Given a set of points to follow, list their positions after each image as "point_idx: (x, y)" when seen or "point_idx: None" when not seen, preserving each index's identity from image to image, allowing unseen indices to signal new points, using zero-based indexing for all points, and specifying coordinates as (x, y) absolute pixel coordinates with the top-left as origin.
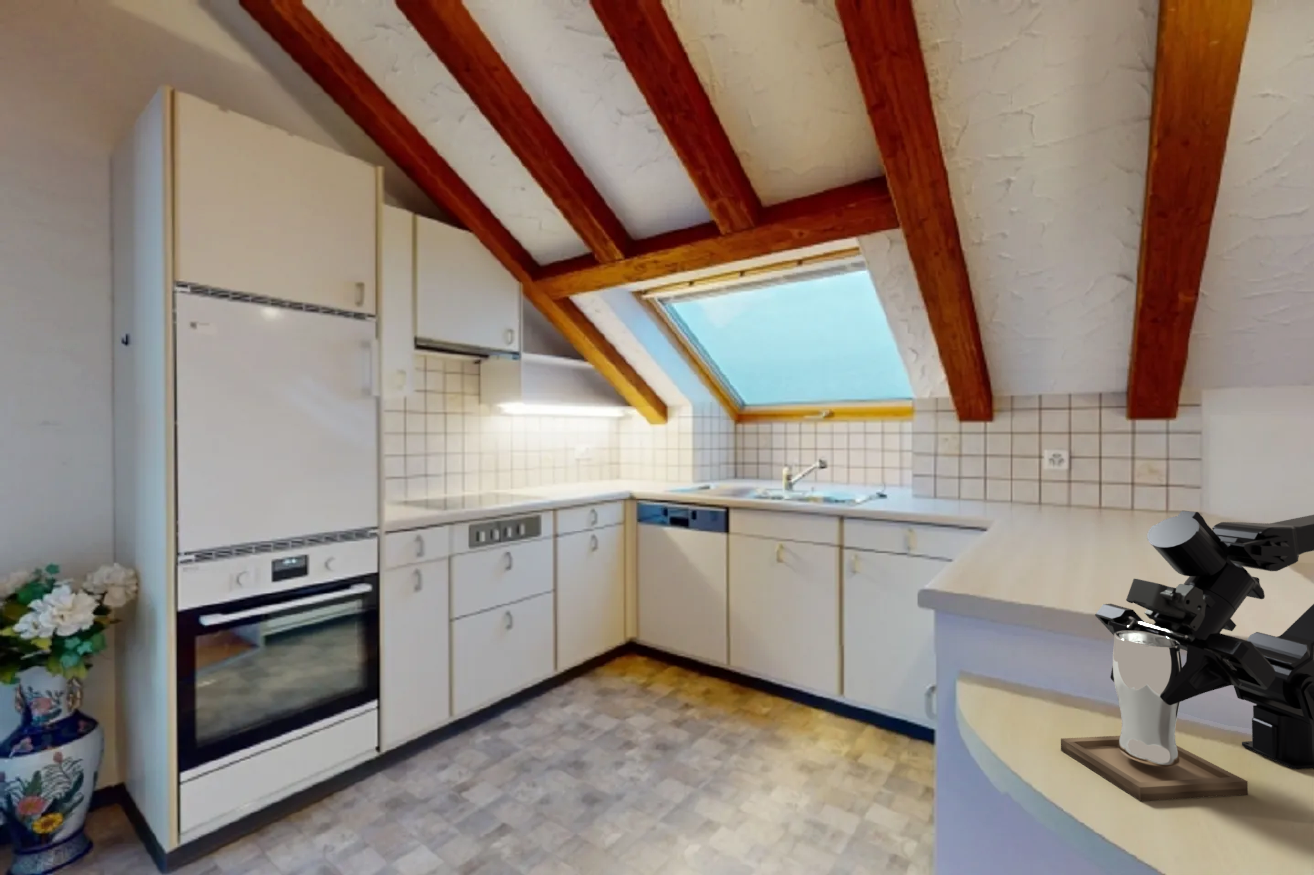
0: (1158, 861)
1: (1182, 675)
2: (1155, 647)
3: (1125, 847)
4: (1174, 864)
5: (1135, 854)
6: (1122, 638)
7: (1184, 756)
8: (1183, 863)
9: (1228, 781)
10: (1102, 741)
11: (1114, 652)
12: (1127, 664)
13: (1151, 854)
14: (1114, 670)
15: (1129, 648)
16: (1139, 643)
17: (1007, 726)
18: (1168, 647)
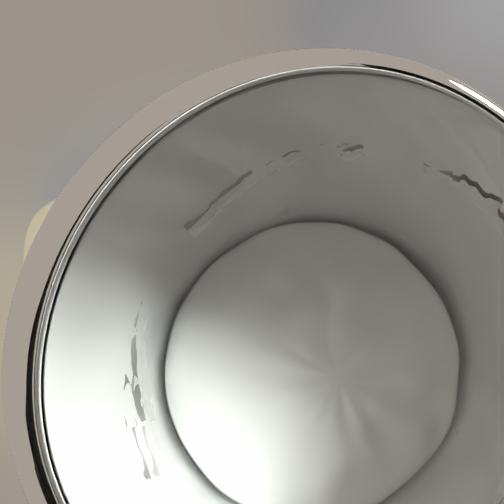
0: (31, 226)
1: None
2: (23, 277)
3: (52, 203)
4: (26, 241)
5: (42, 208)
6: (347, 54)
7: None
8: (26, 252)
9: None
10: None
11: (382, 166)
12: (247, 200)
13: (40, 225)
14: (337, 220)
15: (241, 123)
16: (150, 115)
17: None
18: (23, 472)
